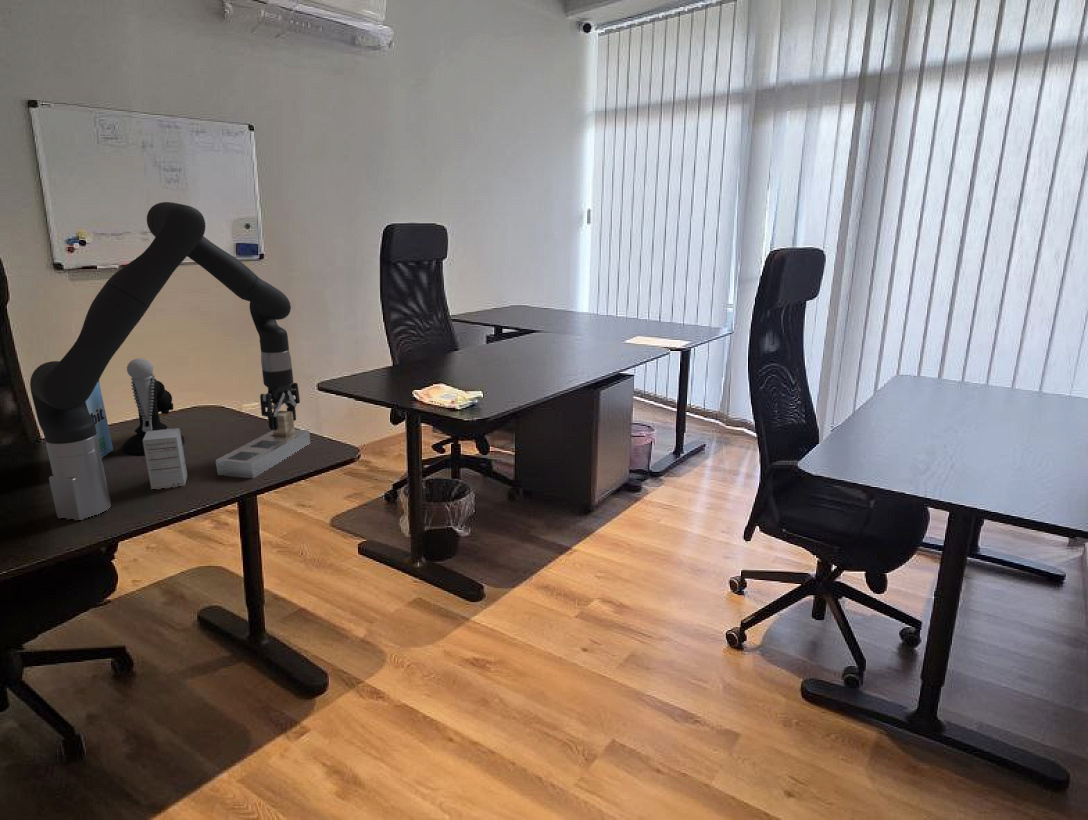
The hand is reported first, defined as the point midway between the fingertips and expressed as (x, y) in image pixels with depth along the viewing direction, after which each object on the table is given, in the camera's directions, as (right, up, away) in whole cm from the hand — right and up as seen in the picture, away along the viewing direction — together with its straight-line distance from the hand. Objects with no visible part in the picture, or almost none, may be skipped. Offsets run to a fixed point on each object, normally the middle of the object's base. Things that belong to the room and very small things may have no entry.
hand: (283, 425), depth 192 cm
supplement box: (-19, -14, -22) cm, 32 cm away
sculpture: (-39, -5, +8) cm, 40 cm away
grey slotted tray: (-2, -9, -6) cm, 11 cm away
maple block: (0, -6, +2) cm, 7 cm away
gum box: (-48, -10, -9) cm, 50 cm away
